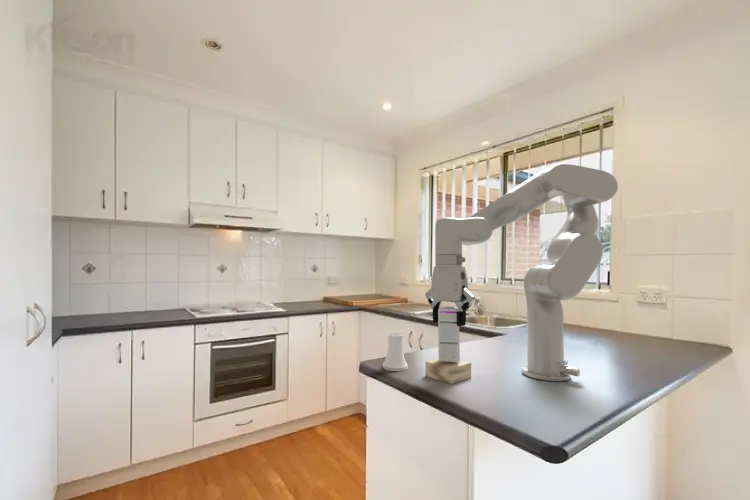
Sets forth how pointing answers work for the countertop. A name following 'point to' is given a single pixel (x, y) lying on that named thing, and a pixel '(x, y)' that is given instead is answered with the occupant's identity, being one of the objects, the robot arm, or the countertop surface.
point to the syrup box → (448, 334)
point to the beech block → (448, 370)
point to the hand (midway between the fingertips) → (448, 323)
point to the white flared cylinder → (395, 353)
